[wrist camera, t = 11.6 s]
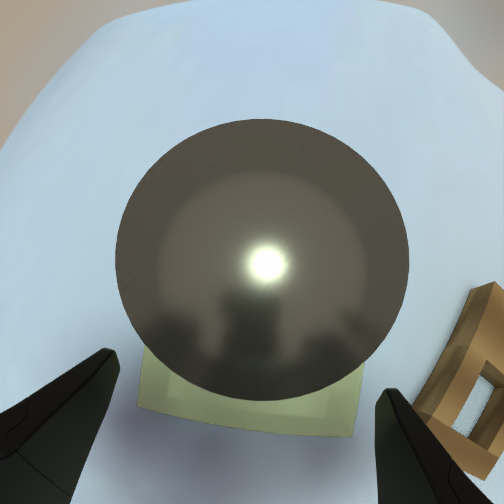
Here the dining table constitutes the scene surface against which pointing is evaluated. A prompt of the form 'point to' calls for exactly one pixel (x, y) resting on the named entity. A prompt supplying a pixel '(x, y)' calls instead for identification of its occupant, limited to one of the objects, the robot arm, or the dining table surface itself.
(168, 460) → the dining table surface
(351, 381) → the socket stand
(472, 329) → the wooden rectangular frame
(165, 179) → the grey glass peg
